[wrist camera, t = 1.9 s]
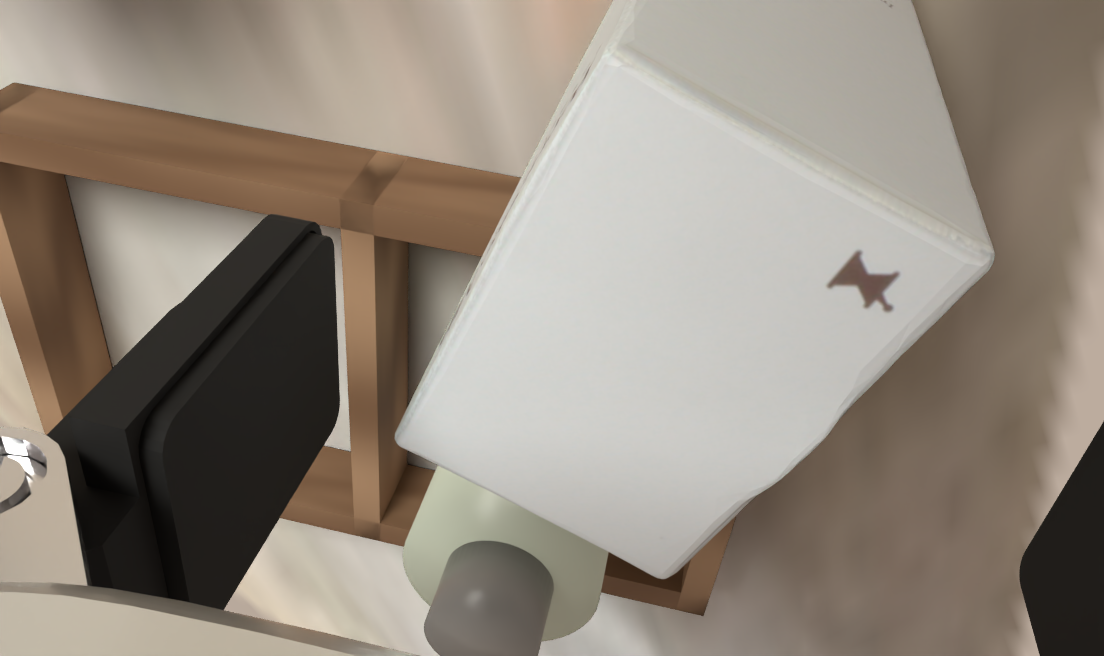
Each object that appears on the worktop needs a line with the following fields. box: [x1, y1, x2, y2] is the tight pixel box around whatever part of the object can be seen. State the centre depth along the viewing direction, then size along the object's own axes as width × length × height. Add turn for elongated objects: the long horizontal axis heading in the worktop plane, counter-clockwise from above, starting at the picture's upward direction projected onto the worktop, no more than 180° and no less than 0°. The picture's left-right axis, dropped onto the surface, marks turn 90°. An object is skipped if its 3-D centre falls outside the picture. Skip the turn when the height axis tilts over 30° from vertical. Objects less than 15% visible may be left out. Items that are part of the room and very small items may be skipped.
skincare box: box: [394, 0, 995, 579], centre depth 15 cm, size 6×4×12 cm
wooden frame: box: [0, 83, 737, 616], centre depth 25 cm, size 12×20×2 cm, turn 84°
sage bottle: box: [403, 466, 609, 656], centre depth 22 cm, size 4×4×9 cm
